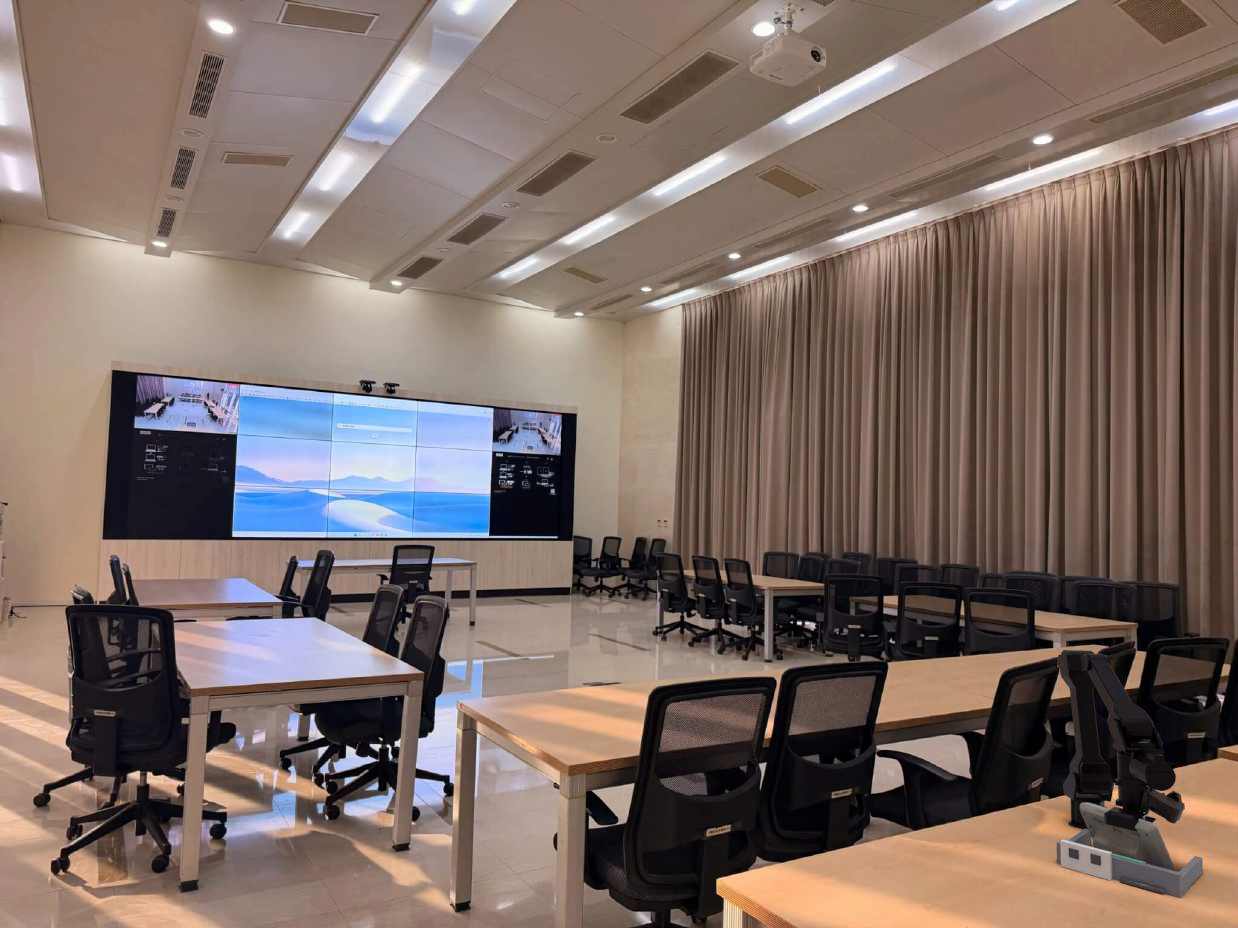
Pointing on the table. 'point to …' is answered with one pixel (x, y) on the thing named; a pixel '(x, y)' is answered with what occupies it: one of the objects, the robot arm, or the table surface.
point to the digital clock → (1126, 838)
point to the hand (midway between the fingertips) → (1136, 853)
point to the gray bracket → (1125, 867)
